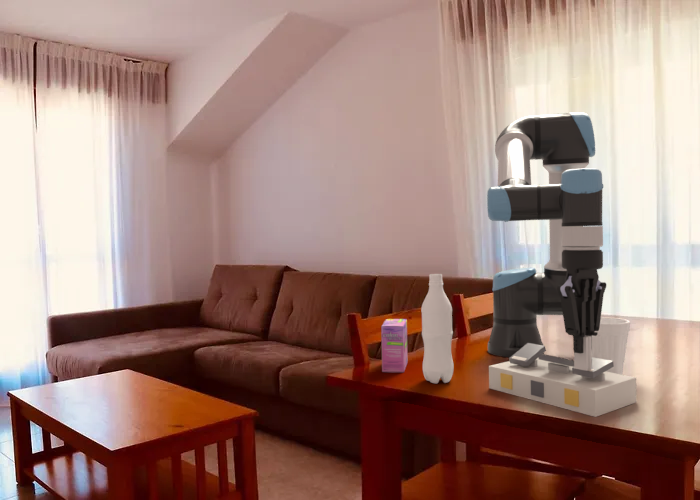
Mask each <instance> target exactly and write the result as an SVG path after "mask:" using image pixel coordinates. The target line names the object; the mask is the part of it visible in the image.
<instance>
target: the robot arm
mask: <svg viewBox="0 0 700 500" xmlns="http://www.w3.org/2000/svg"><path fill="white" fill-rule="evenodd" d="M594 131H595V130H594V126H593V122H592V120H591V117H590V116H589V114H587V113H586V112H564V113H551V114H539V115H528V116H524V117H520V118H519V119H516V120H514V121H512V122H511V123H510V124H508V125H507V126H506V127H505V128H504V129H503V130H501V132H500V133H499V135H498V137H497V138H496V141H495V145H494V153H495V157H496V159H497V160H498V163H497V164H498V165H497V167H498V168H497V186H491V187H489V188H488V189H487V193H486V195H487V197H486V198H487V201H486V202H487V207H486V209H487V217H488V219H489V220H491V221H492V222H505V223H506V222H516V221H519V222H521V221H522V222H523V221H548V223H549V224H548V225H549V261H547V263H546V264H544V266H543V272H537V270H536V268H535V267H520V268H513V269H512V268H511V269H507V270H502V271H500V272H496V273H495V274H494V276H493V277H492V290H491V291H492V294H493V295H492V296H493V297H492V298H493V299H492V300H493V305H492V306H493V311H492V313H493V316H492V317H493V325H492V329H491V331H490V334H489V340H488V342H487V353H488V354H491V355H494V356H498V357H504V358H505V357H506V358H510V357H511V356H512V355H514V354H515V353H516V352H517V351H519V350H520V349H521V348H522V347H523V346H525V345H526V344H527V343H531V344H537V345H542V346H545V345H544V342H543V341H542V338H541V334H540V330H539V327H538V325H537V316H562V318H563V325H564V331H565V333H566V334H567V335H568V336H572V337H573V338H572V339H573V340H572V341H573V344H572V346H573V349H572V350H573V361H574V368H575V369H580V370H585V371H587V370H591V369H592V335H593V336H597V334H598V332H595V331H599V327H600V319H601V317H602V311H603V302H604V294H605V290H606V288H607V283H606V282H605V281H604V282H603V281H600V280H599V278H600V277H599V273H598V270H601V269H602V268H603V266H604V251H603V250H602V249H600V248H601V247H603V246H604V230H603V229H604V227H603V226H604V225H603V188H604V184H603V174H602V173H603V172H602V171H601V170H600V169H598V168H588V165H590V158H592V157H595V155H596V140H595V139H596V138H595V132H594ZM535 160H542V167H543V168H544V169H545V170H546V171H547V172H548V184H532V176H531V175H532V173H531V161H535Z"/></svg>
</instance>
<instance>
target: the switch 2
mask: <svg viewBox="0 0 700 500" xmlns="http://www.w3.org/2000/svg"><path fill="white" fill-rule="evenodd" d="M538 358H539V359H540V360H544V361H548V362H553V363H557V364H562V365H567V366H572V367H574V360H573V359H572V360H571V359H567V358H564V357H560V356H556V355H551V354H547V353H546V354H545V353H543V354H540V355H539V357H538Z"/></svg>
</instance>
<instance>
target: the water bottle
mask: <svg viewBox="0 0 700 500" xmlns="http://www.w3.org/2000/svg"><path fill="white" fill-rule="evenodd" d="M428 277H429V281H428V282H429V283H428V286H429V287H428V290H427V291H428V292H427V294H426V296H425V298H424V299H423V302H422V304H421V308H420V310H421V311H420V312H421V337H422V341H423V351H424V353H423V361H422V374H423V376H424V379H425V380H426V381H427V382H430V383H432V384H438V383H439V382H440V380H442V382H443V383H444V384H446V383H449V382H450V381H451V380H452V377H453V375H454V370H455V369H454V361H453V356H452V340H453V334H454V331H453V316H452V315H453V307H452V303H451V302H450V300H449V298H448V297H447V294H446V293H445V290H444V280H443V274H442V273H430V274H429V276H428Z"/></svg>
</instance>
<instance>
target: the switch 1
mask: <svg viewBox="0 0 700 500" xmlns="http://www.w3.org/2000/svg"><path fill="white" fill-rule="evenodd" d="M546 351H547V348H546V346H545V345H544V346H542V345H537V344H531V343H527V344H526V345H525V346H523V347H522V348H521V349H520V350H519V351H517V352H516V353H515V354H514V355H512V356H511V357H508V359H509V360H508V361H510V363H512V364H517V365H521V366H526V367H527V366H529V365H530V364H531V363H532V362H533V361H535V360H536V359H537V358H539V355H540V354H545V352H546Z"/></svg>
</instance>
